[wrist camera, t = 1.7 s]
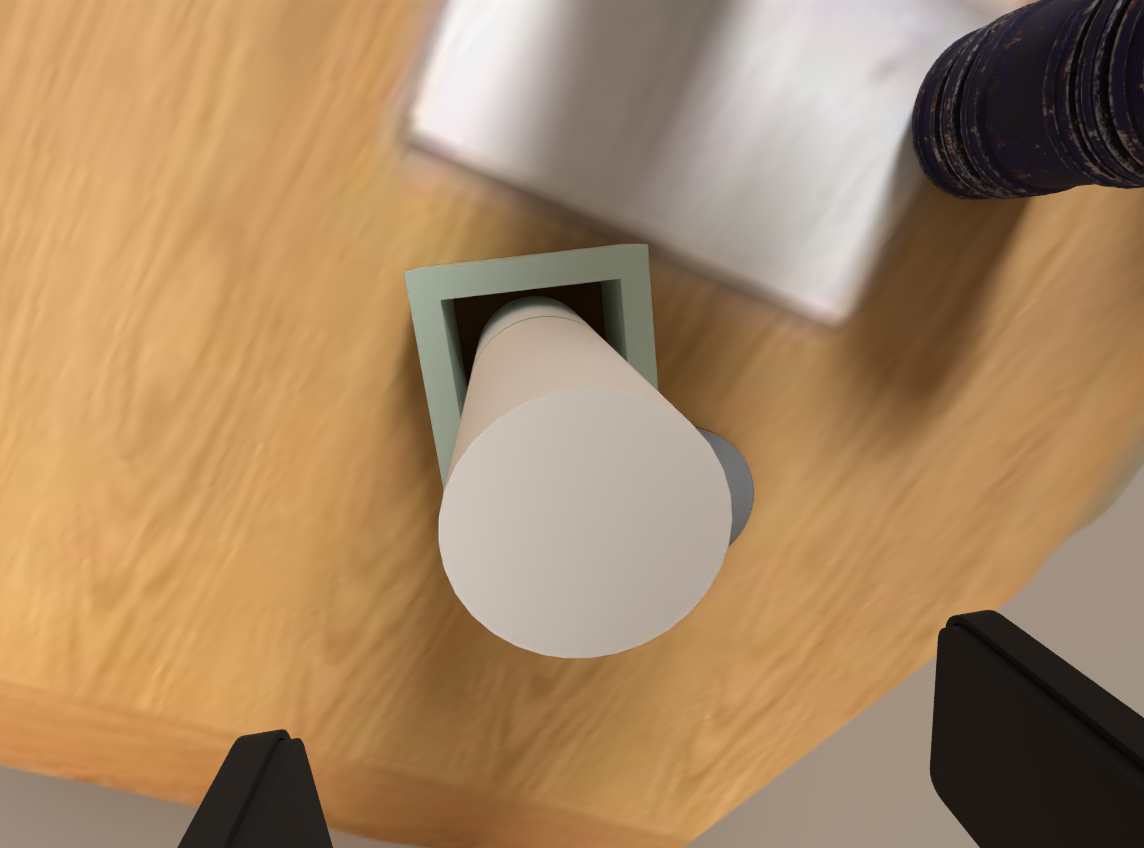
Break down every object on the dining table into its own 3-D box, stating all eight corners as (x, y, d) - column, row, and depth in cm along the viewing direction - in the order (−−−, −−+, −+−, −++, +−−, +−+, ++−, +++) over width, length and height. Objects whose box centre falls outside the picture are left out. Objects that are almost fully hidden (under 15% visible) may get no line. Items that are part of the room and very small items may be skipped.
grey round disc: (599, 437, 41) (601, 441, 40) (747, 417, 42) (752, 420, 41) (613, 572, 44) (615, 577, 43) (751, 550, 44) (755, 556, 44)
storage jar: (982, 234, 40) (1250, 230, 26) (877, 134, 37) (1108, 68, 23) (1095, 97, 38) (1448, 10, 24) (992, -17, 36) (1317, -189, 22)
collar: (421, 266, 37) (403, 272, 30) (621, 243, 38) (647, 244, 31) (454, 457, 40) (445, 500, 34) (637, 432, 41) (663, 469, 34)
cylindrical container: (471, 402, 39) (425, 649, 15) (484, 287, 37) (454, 368, 14) (582, 415, 40) (699, 666, 16) (600, 304, 38) (761, 407, 15)
